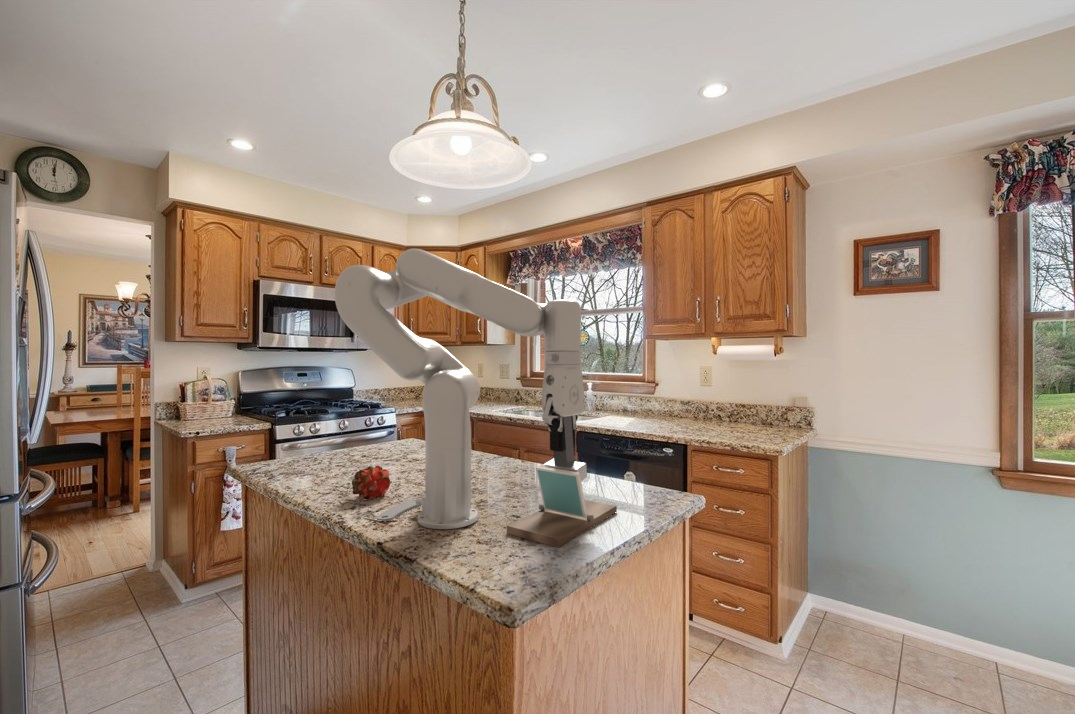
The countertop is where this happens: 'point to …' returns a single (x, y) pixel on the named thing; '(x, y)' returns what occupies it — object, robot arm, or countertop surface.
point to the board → (559, 524)
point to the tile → (561, 491)
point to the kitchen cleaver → (397, 510)
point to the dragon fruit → (371, 482)
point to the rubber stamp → (567, 452)
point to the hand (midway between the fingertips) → (562, 448)
